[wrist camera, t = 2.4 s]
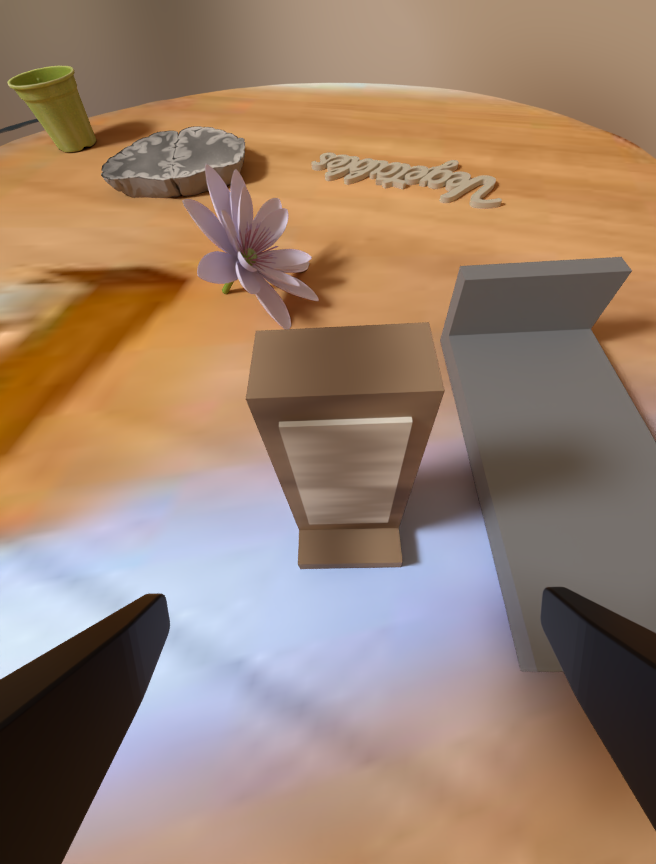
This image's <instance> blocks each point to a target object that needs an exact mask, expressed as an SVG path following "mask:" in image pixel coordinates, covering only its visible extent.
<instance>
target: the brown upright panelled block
mask: <svg viewBox="0 0 656 864" xmlns="http://www.w3.org/2000/svg"><path fill="white" fill-rule="evenodd" d="M444 391H445V390H444V386H443V381H442V377H441V372H440V368H439V364H438V359H437V355H436V351H435V346H434V342H433V338H432V333H431V329H430V324H429V322H426V323H406V324H386V325H366V326H345V327H325V328H305V329H285V330H265V331H256V333H255V340H254V347H253V354H252V360H251V367H250V374H249V381H248V387H247V394H246V401H247V403H248V405H249V408H250V410H251V413H252V415H253V418H254V420H255V423H256V425H257V428H258V430H259V433H260V435H261V437H262V440H263V442H264V445H265V447H266V450H267V452H268V455H269V457H270V460H271V462H272V465H273V467H274V469H275V472H276V474H277V477H278V479H279V482H280V484H281V487H282V489H283V492H284V494H285V496H286V499H287V501H288V504H289V506H290V509H291V511H292V514H293V516H294V519H295V521H296V524H297V526H298V528H299V549H298V566H299V567H300V569H329V568H383V567H401V565H402V563H403V562H402V553H401V544H400V535H399V525H400V522H401V519H402V516H403V513H404V511H405V508H406V505H407V502H408V499H409V496H410V493H411V490H412V487H413V484H414V481H415V478H416V475H417V472H418V469H419V466H420V463H421V460H422V457H423V454H424V451H425V448H426V445H427V442H428V439H429V436H430V433H431V430H432V427H433V424H434V421H435V418H436V415H437V412H438V409H439V406H440V403H441V400H442V397H443V394H444Z"/></svg>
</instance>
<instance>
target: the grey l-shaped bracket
mask: <svg viewBox="0 0 656 864" xmlns="http://www.w3.org/2000/svg"><path fill="white" fill-rule="evenodd" d="M631 272H632V270H631V269H630V268H629V266H628V265H627V264H626V262H625V261H624V260H623V258H622V257H613V258H595V259H577V260H560V261H542V262H525V263H507V264H489V265H472V266H460V269H459V273H458V276H457V280H456V284H455V287H454V291H453V295H452V299H451V302H450V306H449V310H448V313H447V317H446V321H445V325H444V328H443V332H442V336H441V339H440V342H441V346H442V350H443V354H444V358H445V362H446V366H447V370H448V374H449V378H450V383H451V387H452V391H453V395H454V399H455V403H456V407H457V411H458V415H459V419H460V423H461V428H462V432H463V436H464V440H465V444H466V448H467V452H468V456H469V460H470V464H471V469H472V473H473V477H474V481H475V485H476V489H477V493H478V497H479V501H480V505H481V510H482V514H483V518H484V522H485V526H486V530H487V534H488V538H489V542H490V546H491V551H492V555H493V559H494V563H495V567H496V571H497V575H498V579H499V583H500V587H501V591H502V596H503V600H504V604H505V608H506V612H507V616H508V620H509V624H510V628H511V632H512V637H513V641H514V645H515V649H516V653H517V657H518V661H519V665H520V669H521V671H529V672H563V670H562V668H561V666H560V664H559V662H558V659H557V657H556V655H555V653H554V651H553V649H552V647H551V645H550V643H549V641H548V639H547V637H546V635H545V633H544V631H543V628H542V625H541V620H540V615H541V604H542V593H543V590H544V589H545V588H546V587H565V588H568V589H570V590H571V591H573V592H575V593H577V594H579V595H581V596H583V597H585V598H587V599H589V600H591V601H593V602H595V603H597V604H599V605H601V606H603V607H605V608H607V609H609V610H611V611H613V612H615V613H617V614H619V615H621V616H623V617H625V618H627V619H629V620H631V621H633V622H635V623H637V624H639V625H641V626H643V627H645V628H647V629H649V630H651V631H653V632H655V633H656V442H655V440H654V438H653V436H652V435H651V433H650V431H649V429H648V428H647V426H646V424H645V422H644V421H643V419H642V417H641V415H640V414H639V412H638V410H637V409H636V407H635V405H634V403H633V402H632V400H631V398H630V396H629V395H628V393H627V391H626V389H625V388H624V386H623V384H622V382H621V381H620V379H619V377H618V375H617V374H616V372H615V370H614V369H613V367H612V365H611V363H610V362H609V360H608V358H607V356H606V355H605V353H604V351H603V349H602V348H601V346H600V344H599V342H598V341H597V339H596V337H595V336H594V334H593V332H592V330H591V328H592V327H593V325H594V324H595V322H596V321H597V319H598V318H599V317H600V315H601V314H602V312H603V311H604V310H605V308H606V307H607V305H608V304H609V303H610V301H611V300H612V298H613V297H614V296H615V294H616V293H617V291H618V290H619V289H620V287H621V286H622V284H623V283H624V281H625V280H626V279H627V277H628V276H629V274H630V273H631Z"/></svg>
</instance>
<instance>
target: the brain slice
mask: <svg viewBox="0 0 656 864" xmlns="http://www.w3.org/2000/svg"><path fill="white" fill-rule="evenodd" d="M244 149H245V142H244V139H243V138H238V137H237V136H235V135H234V134H232V133H226V132H225V131H223V130H219V129H214V128H211V127H188V128H186V129H183V130H181V131H180V132H179V135H178V132H176V131H164V132H157V133H154V134H151V135H150V136H149V137H145V138H142V139H139V140H137V141H136V142H134V143H133V144H132V145H131V146H128V147H126V148H124V149H123V150H122V151H120V152H119V153H117V154H116V155H115V156H113V157H110V158H109V159H108V160H107V162H106V163H105V164H104V165H103V166H102V171H103V172H102V173H101V176H102V177H103V178H104V180H105V181H106V182H107V183H108V184H109V185H111V186H112V187H113V188H114V189H116V190H117V191H122V192H123V193H124V194H126V195H128V196H131V197H134V198H135V197H151V198H157V197H158V198H170V197H178V196H181V194H182V195H183V196H192V195H197V194H199V193H202V192H204V191H209V189H208V185H207V180H206V174H205V165H206V164H208V165H209V166H211V167H212V168H213V169H214V170H215V171H216V172H217V173H218V174H219V176H220V177H221V178H222V180H223V181H224V183H225V184H226V186H227V185H230V184H231V180H232V175H233V172H234V170H237V171H238V172H239V173H240V171H241V168H242V165H243V161H244V157H245V150H244ZM180 193H181V194H180Z"/></svg>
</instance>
